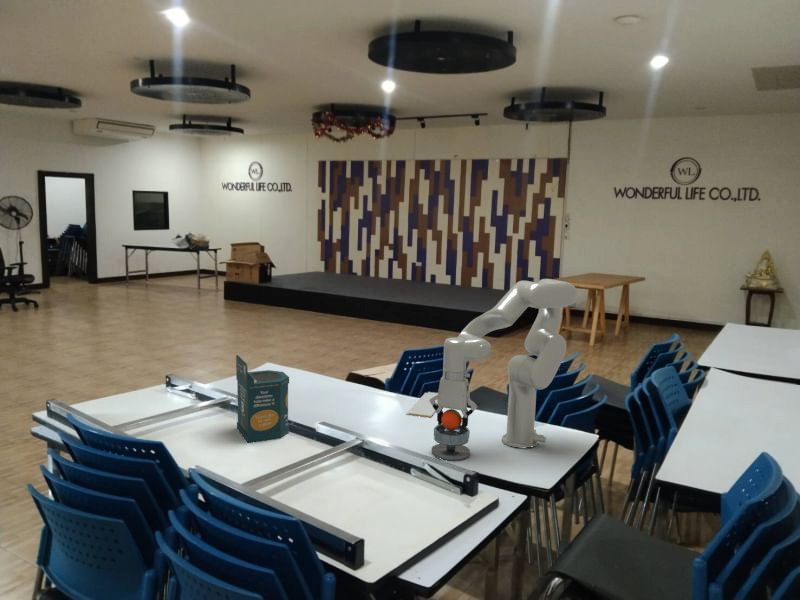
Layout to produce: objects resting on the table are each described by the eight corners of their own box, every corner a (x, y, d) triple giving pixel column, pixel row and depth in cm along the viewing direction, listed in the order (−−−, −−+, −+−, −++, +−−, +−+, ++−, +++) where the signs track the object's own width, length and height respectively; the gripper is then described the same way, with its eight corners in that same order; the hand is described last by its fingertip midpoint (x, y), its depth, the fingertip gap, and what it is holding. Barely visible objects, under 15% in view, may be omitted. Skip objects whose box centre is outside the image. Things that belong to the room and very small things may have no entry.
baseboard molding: (401, 415, 246) (430, 419, 243) (402, 408, 246) (431, 412, 242) (422, 394, 276) (448, 397, 272) (422, 388, 275) (448, 391, 272)
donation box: (236, 428, 225) (236, 354, 221) (279, 422, 233) (279, 350, 229) (247, 443, 211) (246, 364, 207) (292, 436, 219) (292, 360, 215)
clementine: (468, 430, 206) (468, 410, 205) (455, 435, 201) (456, 414, 200) (449, 424, 211) (449, 404, 210) (436, 429, 206) (437, 409, 205)
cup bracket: (474, 450, 211) (475, 426, 210) (463, 464, 199) (464, 439, 198) (438, 443, 216) (439, 420, 215) (426, 456, 204) (426, 432, 203)
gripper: (482, 375, 204) (480, 426, 206) (433, 369, 210) (431, 418, 213) (476, 381, 197) (474, 433, 199) (425, 374, 203) (424, 425, 206)
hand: (452, 425), depth 206 cm, fingers closed on clementine, 7 cm apart
